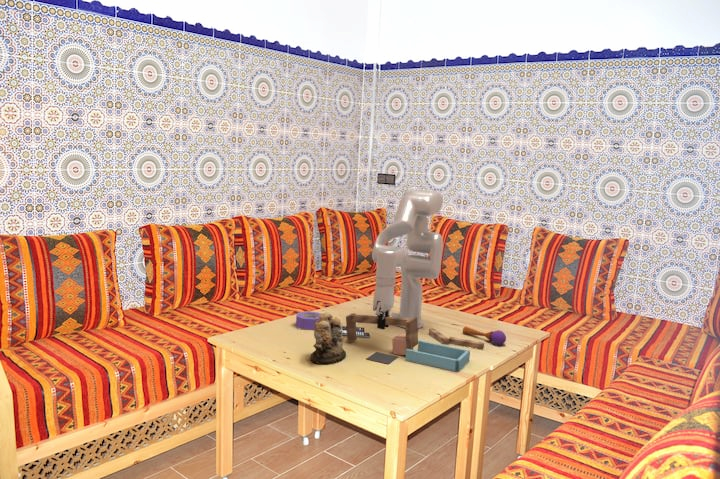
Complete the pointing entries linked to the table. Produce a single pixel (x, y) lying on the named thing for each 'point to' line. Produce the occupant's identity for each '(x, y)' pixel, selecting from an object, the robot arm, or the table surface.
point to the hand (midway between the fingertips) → (382, 327)
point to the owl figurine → (328, 340)
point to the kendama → (487, 335)
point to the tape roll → (307, 320)
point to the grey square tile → (382, 358)
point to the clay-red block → (399, 344)
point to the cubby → (443, 359)
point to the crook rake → (408, 322)
